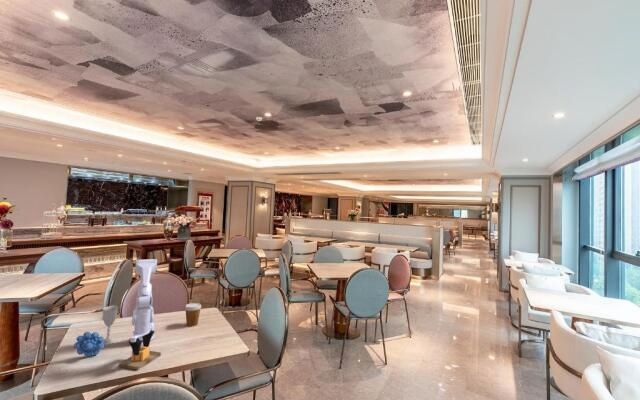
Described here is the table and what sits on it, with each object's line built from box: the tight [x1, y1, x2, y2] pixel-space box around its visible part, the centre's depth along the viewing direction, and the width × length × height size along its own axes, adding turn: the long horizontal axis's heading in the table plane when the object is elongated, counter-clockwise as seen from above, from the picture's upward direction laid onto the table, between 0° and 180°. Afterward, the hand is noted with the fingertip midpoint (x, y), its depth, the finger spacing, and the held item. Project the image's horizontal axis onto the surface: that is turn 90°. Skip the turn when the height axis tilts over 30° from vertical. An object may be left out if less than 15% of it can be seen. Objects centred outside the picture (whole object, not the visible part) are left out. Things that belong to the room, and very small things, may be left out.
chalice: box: [101, 305, 119, 346], centre depth 156 cm, size 7×7×18 cm
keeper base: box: [118, 349, 162, 371], centre depth 140 cm, size 14×10×5 cm
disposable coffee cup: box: [184, 302, 202, 327], centre depth 184 cm, size 10×10×12 cm
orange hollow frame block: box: [131, 346, 151, 361], centre depth 140 cm, size 5×5×4 cm
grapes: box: [73, 331, 105, 358], centre depth 141 cm, size 12×7×12 cm, turn 126°
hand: (141, 351), depth 140 cm, fingers open, 7 cm apart
